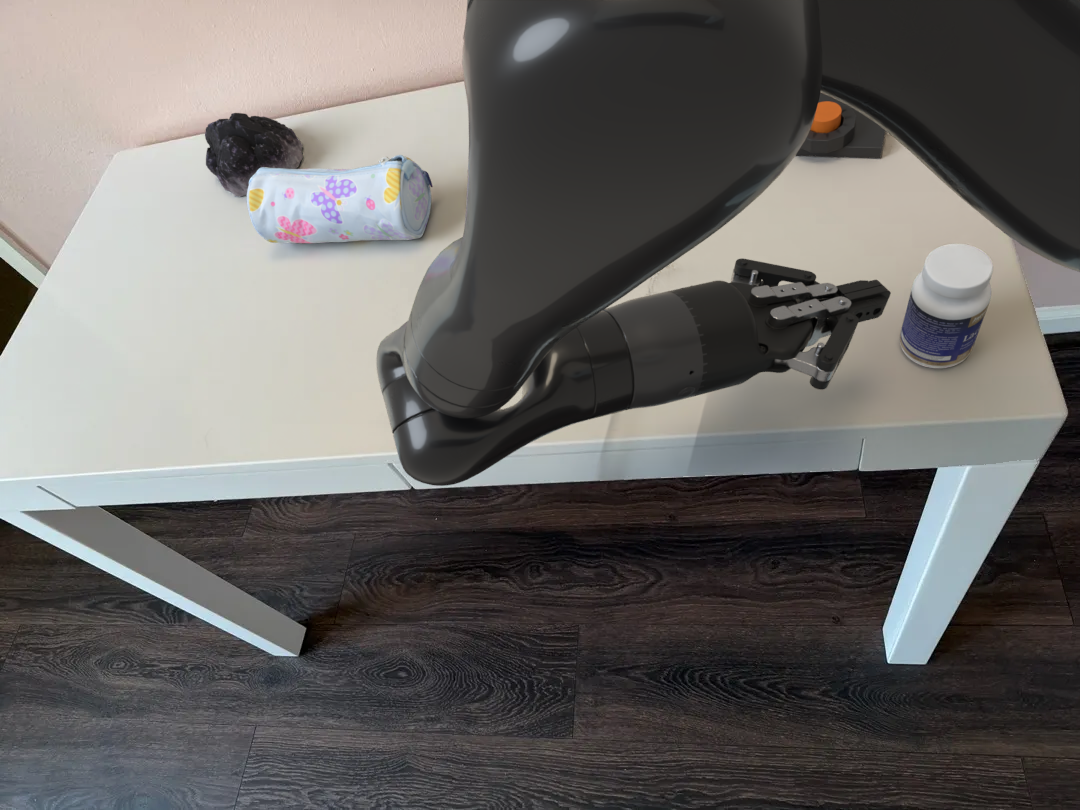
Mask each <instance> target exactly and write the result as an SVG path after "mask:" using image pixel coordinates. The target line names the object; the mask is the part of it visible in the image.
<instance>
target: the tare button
mask: <svg viewBox="0 0 1080 810" xmlns="http://www.w3.org/2000/svg"><path fill="white" fill-rule="evenodd" d="M841 112H842V109H841V107H840V106H839V105H838V104H837V103H834V102H830V101H825V102H819V103H818V106H817V109H816V113H815V117H814V121H813V124H812V127H811V129H810V130H811V131H813V132H815V133H829V132H832V131H835V130H836V129H837V128H838V127H839V126H840V122H841Z"/></svg>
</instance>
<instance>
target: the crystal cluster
mask: <svg viewBox="0 0 1080 810" xmlns="http://www.w3.org/2000/svg"><path fill="white" fill-rule="evenodd" d="M204 139H205V141H206V143H207V144H208V146H209V147H207V148H206V154H205V166H206V168H207V169H208V170H209V171H210V172H211V174H213V175H215V177H216V178H217V180H218V181H219V183H220V184H221V186H222V187H223V189H224V190H225V191H227V192H230V193H231V194H232V195H233V196H235V197H240V198H243V196H247V190H248V186H249V180H250V178H251V177H252V176H253V175H254V174H255V173H256V172H257V170H258V169H259V168H262V167H267V168H283V169H298V167H299V166H300V165H301V161H302V160H303V159H304V154H303V152H302V151H303V143H302V141H301V140H300V139H299V137H298V136H297V134H296V133H295V131H294V130H293V129H292V128H290V127H288V126H286V124H284V123H281V122H279V121H278V120H276V119H273V118H269V117H266V116H264V115H263V116H258V115H251V116H249V115H248V114H247V113H242V112H233V113H230V116H229V118H219V119H217V120H215V121H212V122H210V123H208V124H207V127H205V132H204Z"/></svg>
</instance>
